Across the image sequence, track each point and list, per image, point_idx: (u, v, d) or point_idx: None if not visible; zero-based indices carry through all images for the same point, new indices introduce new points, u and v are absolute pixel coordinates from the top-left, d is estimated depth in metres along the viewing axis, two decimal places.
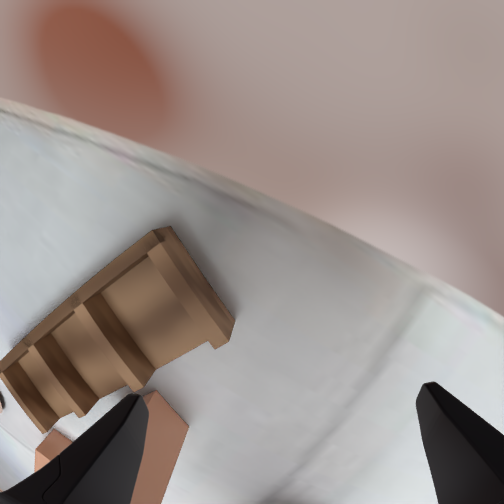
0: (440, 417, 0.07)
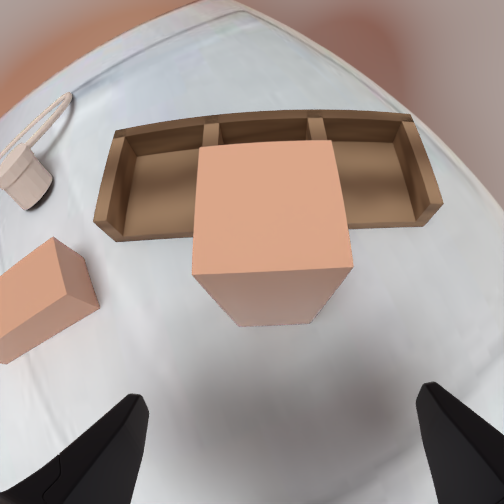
0: (440, 417, 0.07)
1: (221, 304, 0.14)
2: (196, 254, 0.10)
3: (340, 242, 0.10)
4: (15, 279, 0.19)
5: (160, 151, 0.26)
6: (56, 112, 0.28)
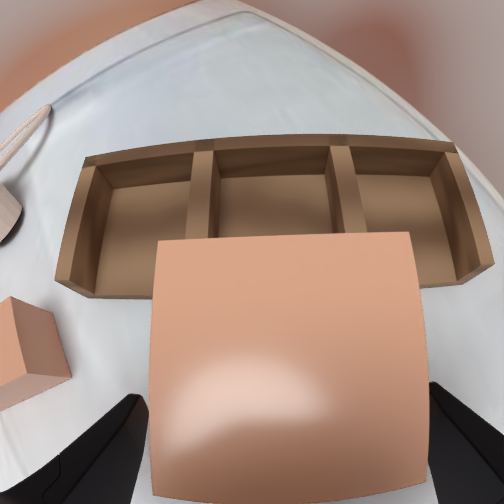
0: (440, 417, 0.07)
1: None
2: (157, 466, 0.04)
3: (413, 447, 0.04)
4: None
5: (141, 183, 0.21)
6: (29, 128, 0.24)
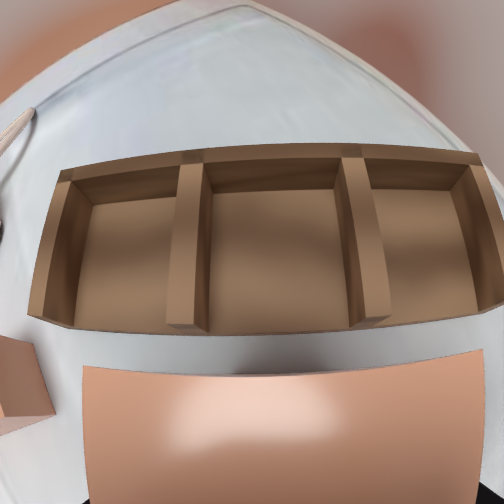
0: None
1: None
2: None
3: None
4: None
5: (123, 199, 0.18)
6: (8, 136, 0.21)
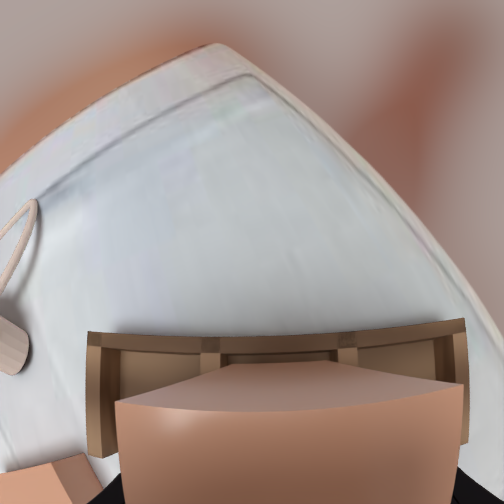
0: None
1: None
2: None
3: None
4: (23, 484, 0.14)
5: (148, 352, 0.21)
6: (18, 249, 0.23)
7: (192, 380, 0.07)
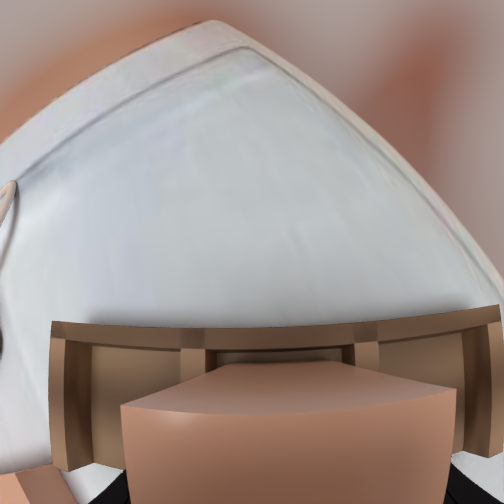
0: None
1: None
2: None
3: None
4: None
5: (122, 348, 0.17)
6: None
7: (193, 380, 0.08)
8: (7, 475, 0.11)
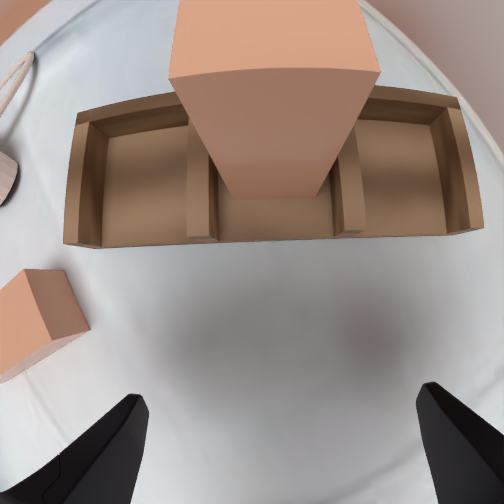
0: (440, 417, 0.07)
1: (211, 150, 0.11)
2: (176, 58, 0.06)
3: (361, 45, 0.06)
4: None
5: (136, 131, 0.20)
6: (14, 84, 0.20)
7: None
8: (16, 277, 0.16)
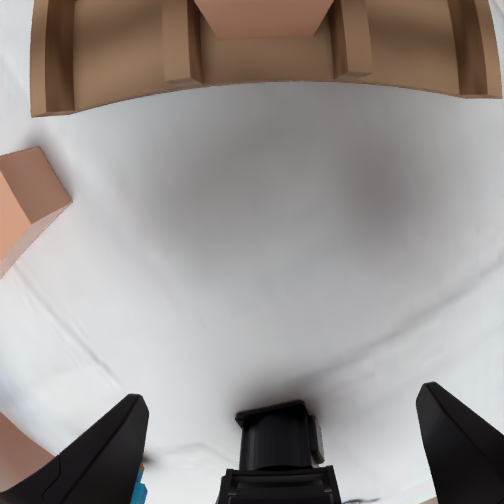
0: (440, 417, 0.07)
1: None
2: None
3: None
4: None
5: None
6: None
7: None
8: None
